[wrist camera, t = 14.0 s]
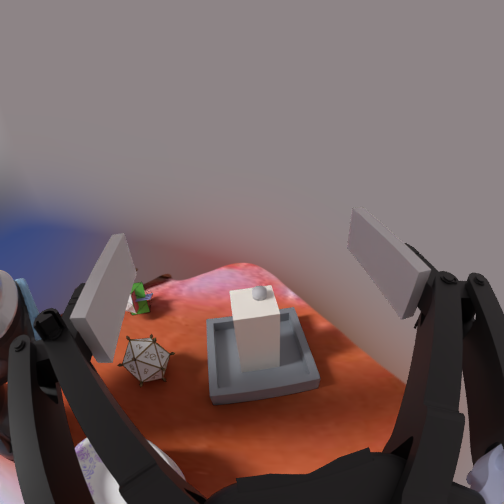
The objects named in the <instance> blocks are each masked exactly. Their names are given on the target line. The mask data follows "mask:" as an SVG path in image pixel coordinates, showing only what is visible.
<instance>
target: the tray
mask: <svg viewBox="0 0 504 504" xmlns="http://www.w3.org/2000/svg"><path fill="white" fill-rule="evenodd" d="M279 312H280V366H279V367H274V368H268V369H262V370H255V371H248V372H242V371H241V365H240V359H239V353H238V347H237V341H236V335H235V329H234V323H233V316H231V317H223V318H215V319H206V321H207V351H208V374H209V392H210V398H211V400H212V403H213V405H221V404H231V403H239V402H247V401H254V400H260V399H267V398H272V397H278V396H284V395H289V394H294V393H299V392H303V391H308V390H312V389H316V388H318V386H319V382H320V375H319V373H318V370H317V367H316V365H315V362H314V359H313V356H312V354H311V351H310V348H309V346H308V343H307V340H306V338H305V335H304V332H303V330H302V327H301V324H300V322H299V319H298V317H297V314H296V311H295V309H294V307H292V308H286V309H279Z"/></svg>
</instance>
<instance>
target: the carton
mask: <svg viewBox="0 0 504 504" xmlns="http://www.w3.org/2000/svg"><path fill="white" fill-rule="evenodd" d="M230 299H231V307H232V315H233V323H234V329H235V335H236V341H237V347H238V353H239V359H240V365H241V371H242V372H248V371H255V370H262V369H268V368H274V367H279V366H280V312H279V309H278V305H277V302H276V299H275V296H274V293H273V290H272V286H271V285H269V286H256V287H254V288H248V289H240V290H233V291H230Z"/></svg>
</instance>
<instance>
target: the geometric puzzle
mask: <svg viewBox="0 0 504 504" xmlns="http://www.w3.org/2000/svg"><path fill="white" fill-rule="evenodd" d="M142 284H143V283H142V282H140V283H134V284H133V287H132V290H131V293H130V296H129V300H128V303H127V307H126V311H129V312H131V314H132V315H135V314H141V313H147V312H150V311H149V308H148V304H147V300H149V299H150V298H151V296H152V295H153V293H152V294H146V295H145V292H144V288H143V286H144V285H142ZM145 290H146V289H145ZM146 293H147V292H146ZM151 301H152V300H151ZM150 307H151V306H150Z"/></svg>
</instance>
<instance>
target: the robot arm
mask: <svg viewBox="0 0 504 504" xmlns="http://www.w3.org/2000/svg"><path fill="white" fill-rule="evenodd" d="M347 248H348V249H349V251H350V252H351V253H352V254H353V256H354V257H355V258H356V259H357V261H358V262H359V263H360V265H361V266H362V267H363V268H364V270H365V271H366V272H367V274H368V275H369V276H370V277H371V279H372V280H373V281H374V283H375V284H376V285H377V287H378V288H379V289H380V291H381V292H382V293H383V295H384V296H385V298H386V299H387V300H388V302H389V303H390V304H391V306H392V307H393V309H394V310H395V311H396V313H397V314H398V316H399V317H400V319H406V318H409V317H412V316H413V315H414V313H415V311H416V308H417V307H418V308H419V309H420V310H421V313H420V315H419V318H418V320H417V322H416V324H415V326H414V328H415V329H416V327H417V333H416V340H415V346H414V351H413V356H412V362H411V366H410V371H409V376H408V380H407V384H406V388H405V392H404V396H403V400H402V403H401V407H400V410H399V414H398V417H397V420H396V424H395V427H394V430H393V433H392V435H391V437H390V439H389V441H388V442H387V444H386V445H385V447H384V449H383V451H382V452H370V449H369V447H368V448H365V449H363V450H360V451H357V452H354V453H351V454H348V455H345V456H342V457H339V458H337V459H336V460H334V461H332V462H330V463H329V464H327V465H325V466H323V467H321V468H319V469H317V470H315V471H313V472H311V473H309V474H266V475H259V476H251V477H243V478H236V481H237V483H235V484H232V485H229V486H227V487H225V488H223V489H221V490H219V491H218V492H216V493H215V494H213V495H212V496H211V497H210V498H209V499H207V498H205V497H204V496H203V495H202V494H201V493H200V492H198V491H197V490H196V489H195V488H194V487H193V486H191V485H190V484H189V483H188V482H186V481H185V480H184V479H183V478H182V477H181V476H180V475H179V474H178V473H177V472H176V471H175V470H174V469H173V468H172V467H171V466H170V465H169V464H168V463H167V462H166V461H165V460H164V459H163V458H162V457H161V456H160V455H159V453H158V452H157V451H156V450H155V449H154V448H153V447H152V446H151V444H150V443H149V442H148V441H147V440H146V439H145V437H144V436H143V435H142V434H141V433H140V431H139V430H138V429H137V428H136V426H135V425H134V424H133V423H132V421H131V420H130V419H129V418H128V416H127V415H126V414H125V412H124V411H123V410H122V408H121V407H120V405H119V404H118V403H117V401H116V400H115V398H114V397H113V395H112V394H111V393H110V391H109V390H108V388H107V387H106V385H105V384H104V382H103V380H102V379H101V377H100V376H99V374H98V373H97V371H96V369H95V368H94V366H93V365H92V363H91V362H90V361H91V357H92V355H93V356H94V358H95V359H96V361H97V362H98V363H113V358H114V354H115V349H116V345H117V341H118V337H119V333H120V329H121V325H122V321H123V318H124V314H125V310H126V307H127V303H128V300H129V296H130V293H131V290H132V287H133V283H134V280H135V277H136V274H137V273H136V270H135V267H134V264H133V261H132V258H131V255H130V251H129V248H128V244H127V241H126V238H125V234H124V233H122V234H115V235H112V236H111V238H110V240H109V241H108V243H107V245H106V247H105V248H104V250H103V252H102V254H101V256H100V258H99V259H98V261H97V263H96V265H95V267H94V269H93V270H92V273H91V274H90V276H89V278H88V280H87V282H86V283H82V284H80V285H79V287H78V288H77V289H76V290H75V291H74V293H73V295H72V297H71V299H70V301H69V303H68V305H67V307H66V309H65V311H64V313H63V315H62V317H61V316H60V314H59V312H58V311H57V310H56V309H53V308H50V309H46V310H44V311H42V312H41V313H40V314H39V312H38V309H37V307H36V305H35V302H34V300H33V297H32V295H31V293H30V290H29V288H28V285H27V282H26V280H25V279H23V278H21V279H16V280H15V281H14V280H13V279H12V277H11V276H10V275H9V274H8V273H6V272H5V271H2V270H0V455H2V456H3V457H5V458H7V459H9V460H14V462H15V467H16V472H17V476H18V481H19V485H20V489H21V492H22V496H23V500H24V503H25V504H95V503H94V500H93V498H92V496H91V493H90V491H89V488H88V486H87V483H86V481H85V478H84V475H83V473H82V470H81V467H80V464H79V461H78V458H77V455H76V451H75V448H74V445H73V441H72V437H71V434H70V430H69V426H68V422H67V417H66V413H65V408H64V403H63V398H62V392H61V388H62V390H63V393H64V395H65V397H66V399H67V401H68V403H69V405H70V407H71V409H72V411H73V413H74V415H75V417H76V419H77V421H78V422H79V424H80V426H81V428H82V430H83V431H84V433H85V435H86V437H87V438H88V440H89V442H90V443H91V445H92V446H93V448H94V450H95V451H96V453H97V454H98V456H99V457H100V459H101V460H102V462H103V463H104V465H105V466H106V468H107V469H108V470H109V472H110V473H111V475H112V476H113V477H114V479H115V480H116V481H117V483H118V485H119V492H120V495H121V496H122V498H123V499H124V500H125V502H126V503H127V504H501V503H503V502H504V314H503V311H502V309H501V307H500V305H499V302H498V300H497V298H496V296H495V294H494V292H493V290H492V288H491V286H490V284H489V282H488V281H487V279H486V278H485V277H484V276H483V275H481V274H478V273H471V274H470V275H469V277H468V279H467V281H458V279H457V278H456V277H455V276H454V275H452V274H451V273H448V272H445V271H440V272H438V271H437V270H436V269H435V268H434V267H433V266H432V265H431V264H430V263H429V262H428V261H427V260H426V259H425V258H424V257H423V256H422V255H421V254H419V252H418V251H417V250H416V249H415V248H414V247H412V246H410V245H408V244H407V243H403V242H402V241H401V240H400V239H399V238H398V237H397V236H396V235H395V234H394V233H392V232H391V231H390V230H389V229H388V228H387V227H386V226H385V225H383V224H382V223H381V222H380V221H379V220H378V219H377V218H375V217H374V216H373V215H372V214H371V213H370V212H368V211H367V210H366V209H365V208H364V207H357V208H352V214H351V222H350V230H349V238H348V245H347ZM475 314H476V319H474V315H475ZM462 371H463V377H464V383H465V390H466V397H467V405H468V416H469V430H470V447H471V455H472V462H473V466H474V467H473V469H472V471H470V472H469V473H468V475H467V479H466V480H467V483H468V484H470V485H471V488H467V487H465V486H462V485H460V484H457V483H455V482H453V477H454V474H455V470H456V465H457V461H458V457H459V452H460V448H461V443H462V438H463V431H464V425H465V416H464V414H462V413H459V411H458V409H459V400H460V390H461V378H462ZM6 382H8V384H6Z"/></svg>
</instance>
